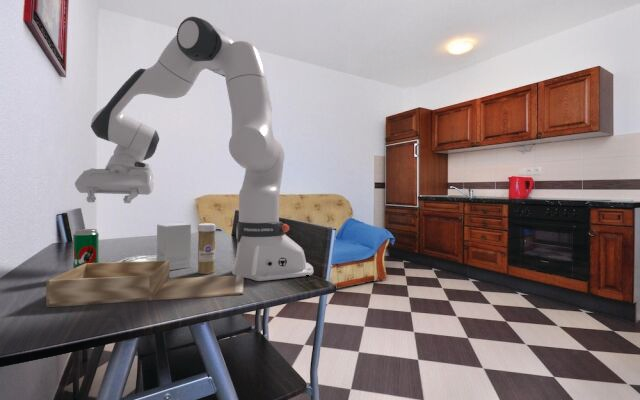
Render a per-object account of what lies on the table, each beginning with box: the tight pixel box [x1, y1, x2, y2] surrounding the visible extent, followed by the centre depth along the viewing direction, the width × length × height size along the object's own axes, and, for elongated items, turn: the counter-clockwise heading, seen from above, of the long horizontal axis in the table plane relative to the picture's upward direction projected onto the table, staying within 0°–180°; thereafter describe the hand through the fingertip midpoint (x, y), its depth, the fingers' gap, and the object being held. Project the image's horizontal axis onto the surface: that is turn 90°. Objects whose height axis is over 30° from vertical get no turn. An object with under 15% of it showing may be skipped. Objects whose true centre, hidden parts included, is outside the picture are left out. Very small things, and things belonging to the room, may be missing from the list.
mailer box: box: [45, 260, 245, 308], centre depth 67 cm, size 36×14×5 cm, turn 104°
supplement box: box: [156, 222, 192, 271], centre depth 86 cm, size 7×7×13 cm
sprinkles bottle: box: [197, 222, 217, 275], centre depth 81 cm, size 5×5×13 cm
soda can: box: [72, 228, 100, 269], centre depth 75 cm, size 5×5×12 cm
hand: (108, 201), depth 87 cm, fingers open, 8 cm apart
